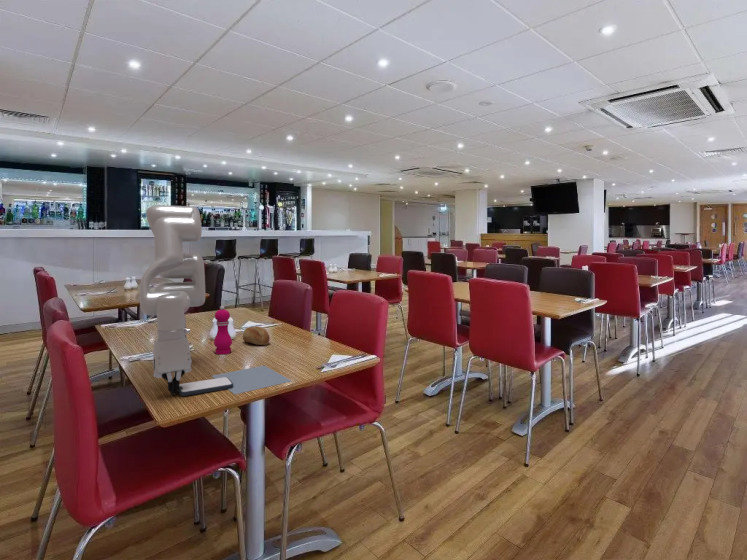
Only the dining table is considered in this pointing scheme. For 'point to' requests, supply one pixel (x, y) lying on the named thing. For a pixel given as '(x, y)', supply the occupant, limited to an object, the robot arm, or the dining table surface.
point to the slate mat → (252, 379)
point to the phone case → (205, 386)
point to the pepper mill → (222, 332)
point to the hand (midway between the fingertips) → (173, 392)
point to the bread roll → (256, 335)
